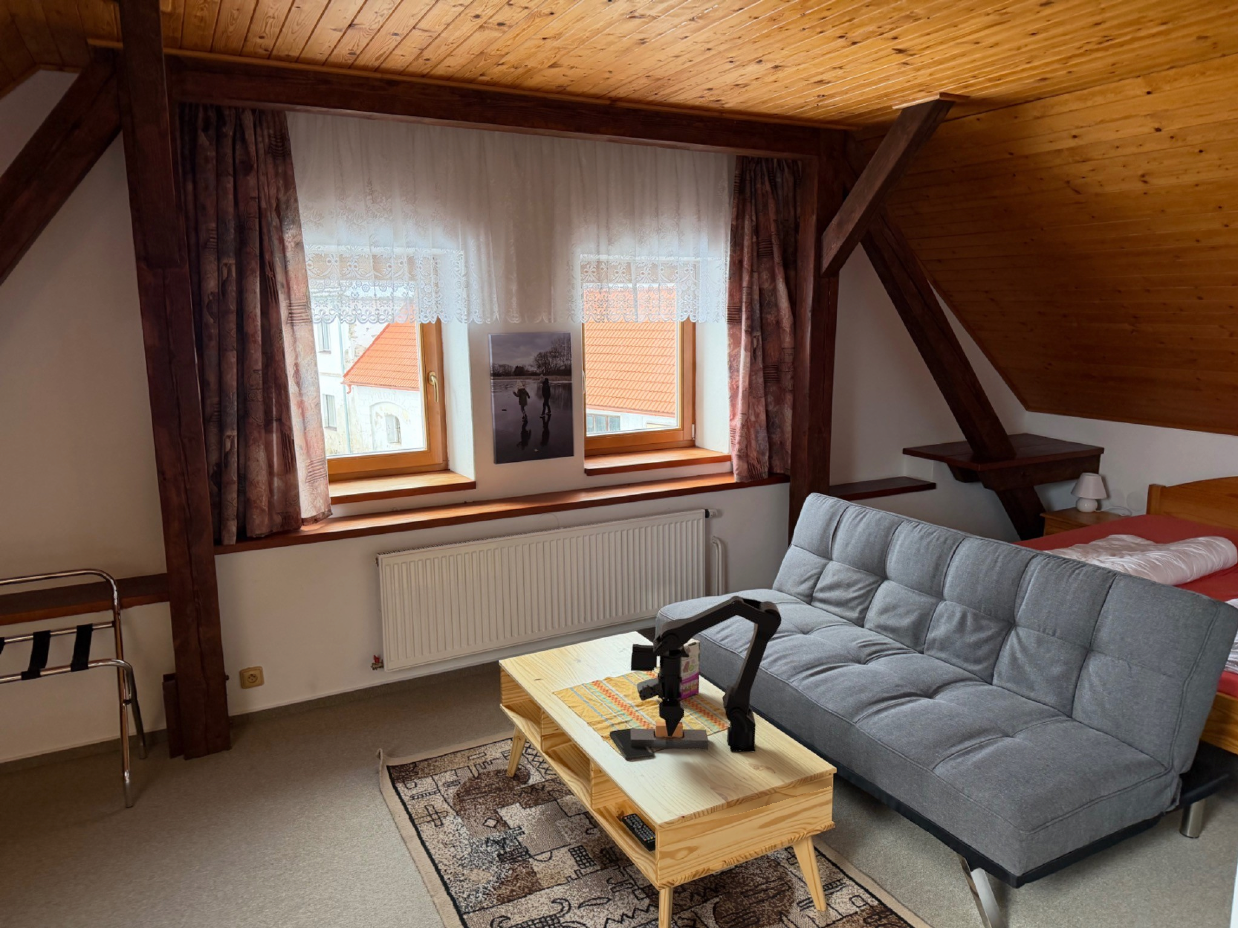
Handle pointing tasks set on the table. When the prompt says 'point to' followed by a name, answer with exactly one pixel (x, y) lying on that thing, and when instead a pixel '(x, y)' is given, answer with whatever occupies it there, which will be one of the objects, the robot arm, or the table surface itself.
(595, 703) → the table surface
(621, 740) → the phone
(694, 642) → the candy bar box
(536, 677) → the table surface
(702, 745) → the rail
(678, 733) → the clip
